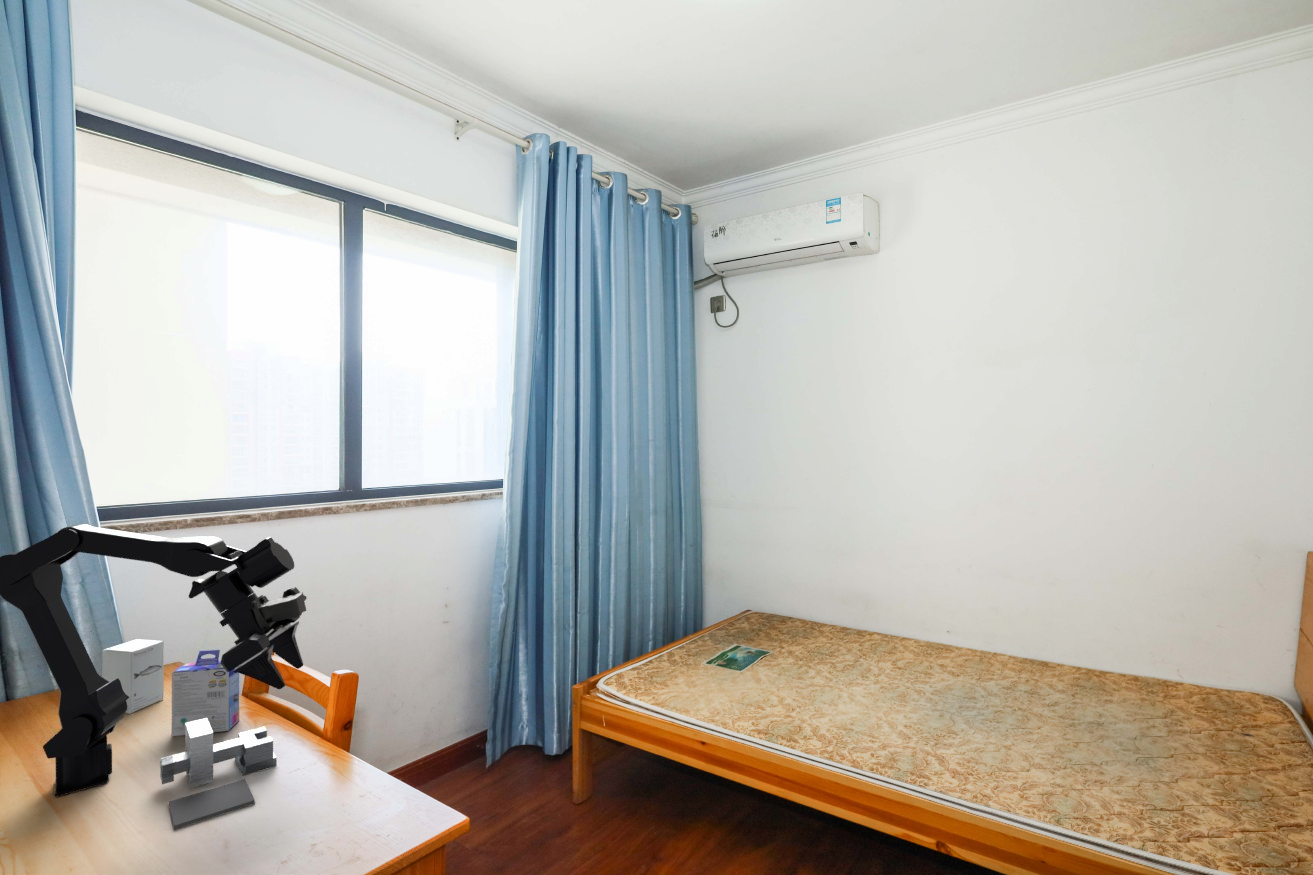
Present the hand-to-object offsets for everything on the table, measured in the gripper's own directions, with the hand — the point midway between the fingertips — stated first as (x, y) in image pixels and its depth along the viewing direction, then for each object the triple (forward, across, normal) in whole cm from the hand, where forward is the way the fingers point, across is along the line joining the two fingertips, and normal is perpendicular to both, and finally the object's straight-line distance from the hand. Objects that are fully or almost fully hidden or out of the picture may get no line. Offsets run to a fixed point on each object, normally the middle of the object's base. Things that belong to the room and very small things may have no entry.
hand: (292, 676), depth 113 cm
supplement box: (-8, +31, +42) cm, 53 cm away
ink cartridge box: (+2, +17, +25) cm, 31 cm away
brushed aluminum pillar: (+2, -3, +17) cm, 17 cm away
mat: (+8, -11, +14) cm, 20 cm away
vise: (+7, -2, +17) cm, 19 cm away
